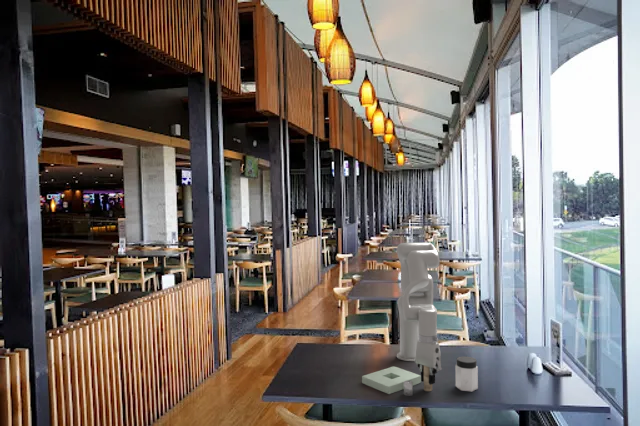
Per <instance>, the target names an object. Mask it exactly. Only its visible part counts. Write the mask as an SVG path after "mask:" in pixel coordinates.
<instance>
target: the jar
mask: <svg viewBox="0 0 640 426" xmlns="http://www.w3.org/2000/svg"><path fill="white" fill-rule="evenodd" d="M477 360H478V359H476V358H475V357H471V356H465V355H463V356H458V357H456V364H455V366H454V368H455V370H454V371H455V387H456V388H457V389H458V390H459V391H463V392H474V391H475V390H478V389H479V381H478V380H479V379H478V378H479V377H478V376H479V373H478V372H479V371H478V370H479V367H478V366H477V364H478V362H477Z"/></svg>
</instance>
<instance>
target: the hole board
mask: <svg viewBox="0 0 640 426" xmlns="http://www.w3.org/2000/svg"><path fill="white" fill-rule="evenodd" d="M404 381H412V382H413V386H416V385H418V384H421V383H422V381H421V374H418V373H414V372H411V371H409V370H406V369H403V368H400V367H397V366H396V365H395V366H390V367H388V368H384V369H381V370H377V371H375V372H371V373H368V374H364V375H361V383H362V384H364V385H366V386H368V387H370V388H372V389H375V390H378V391H380V392H383V393H385V394H387V395H391V394H394V393H396V392H399V391H401V390H404Z"/></svg>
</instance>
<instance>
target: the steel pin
mask: <svg viewBox="0 0 640 426" xmlns="http://www.w3.org/2000/svg"><path fill="white" fill-rule="evenodd" d="M413 386H414V385H413V382H412V381H404V389H403V395H404V396H407V397H412V396H413V395H414V393H413V392H414V391H413V389H414V387H413Z"/></svg>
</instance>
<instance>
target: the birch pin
mask: <svg viewBox="0 0 640 426" xmlns="http://www.w3.org/2000/svg"><path fill="white" fill-rule="evenodd" d="M429 375H430V370H429V367H427V366H424V381H423V391H425V392H432V391H433V384H431V385H430V384H429Z"/></svg>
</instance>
